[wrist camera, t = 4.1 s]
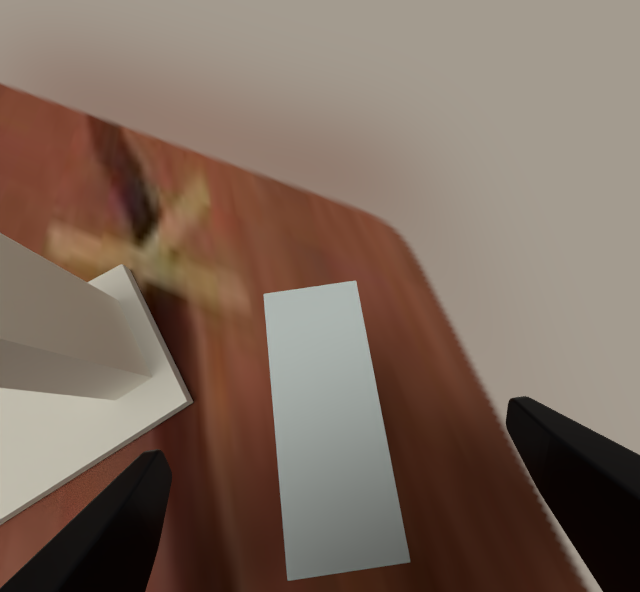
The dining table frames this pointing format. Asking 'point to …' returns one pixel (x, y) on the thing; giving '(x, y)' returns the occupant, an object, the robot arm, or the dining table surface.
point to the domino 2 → (330, 436)
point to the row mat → (84, 413)
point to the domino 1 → (62, 331)
